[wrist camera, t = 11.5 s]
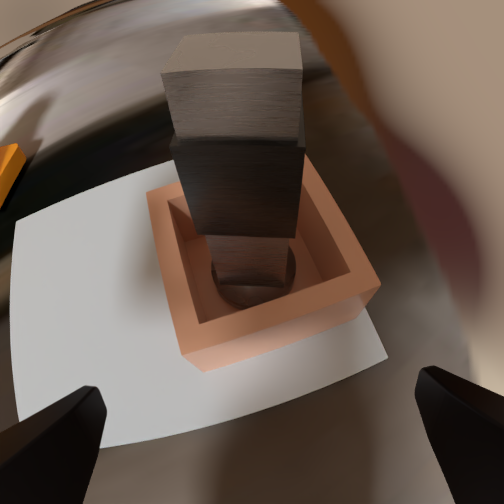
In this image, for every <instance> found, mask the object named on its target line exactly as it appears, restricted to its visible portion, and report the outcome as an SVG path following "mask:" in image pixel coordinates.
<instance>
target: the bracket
mask: <svg viewBox="0 0 504 504" xmlns="http://www.w3.org/2000/svg"><path fill="white" fill-rule="evenodd" d="M25 162H26V156H25V155H24V153H23V152H22V150H21V149H20V147H19V146H18V144H17V143H14V144H10V145H6V146H2V147H0V208H1V206H2V204H3V202H4V200H5V198H6V196H7V194H8V192H9V190H10V188H11V187H12V185H13V183H14V181H15V179H16V177H17V176H18V174H19V172H20V170H21V169H22V167H23V165H24V163H25Z"/></svg>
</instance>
